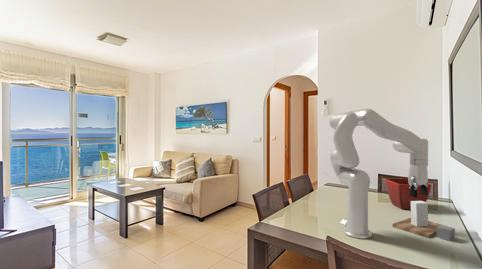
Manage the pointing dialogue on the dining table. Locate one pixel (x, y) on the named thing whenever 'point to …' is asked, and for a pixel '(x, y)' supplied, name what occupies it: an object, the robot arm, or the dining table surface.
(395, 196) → the plant pot
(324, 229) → the dining table surface
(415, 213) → the skincare box
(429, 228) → the walnut board
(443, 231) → the graphite block
